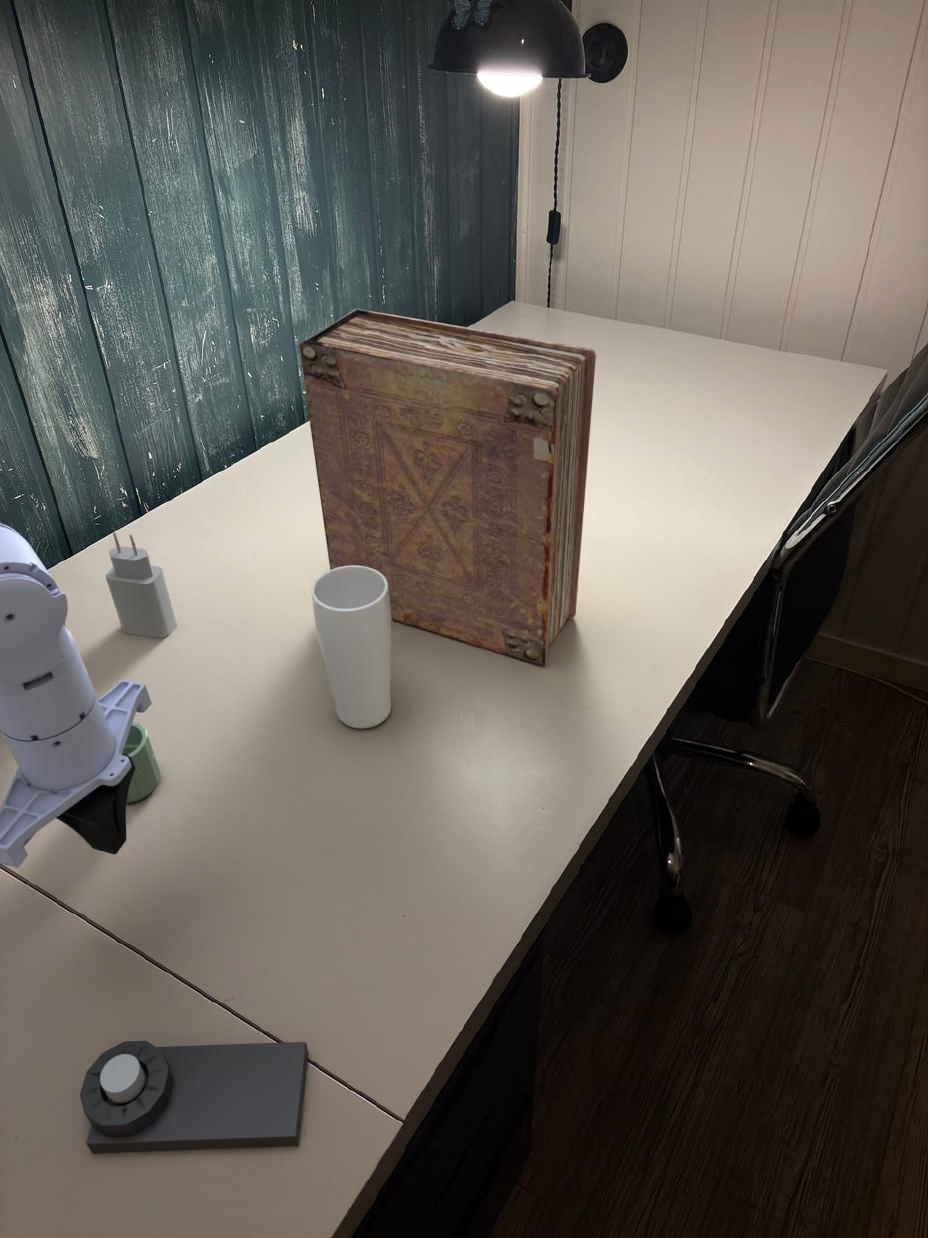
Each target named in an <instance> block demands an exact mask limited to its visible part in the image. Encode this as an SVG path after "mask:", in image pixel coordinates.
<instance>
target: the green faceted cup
mask: <svg viewBox="0 0 928 1238" xmlns="http://www.w3.org/2000/svg"><path fill="white" fill-rule="evenodd" d="M122 754H126V755H129V756H130V757H131V758H132V760H133V762H134V765H135V768H136V769H135V772H134V774H133V777H132V779H131V782H130V786H129V790H128V795H127V803H135V802H138V801H140V800H142V799H145V798H146V797H148V796H149V795H150V794H152V792H153V791H154V790H155V789H156V787H157V785H158V784H159V782H160V778H161V773H160V769H159V765H158V762H157V759H156V756H155V753H154V751H153V747H152V744H151V741H150V737H149V735H148V732H147V729H146V728H145V727H144V726H143V725H141V724H140V723H137V722H134V721H133V723H132V726H131V729H130V732H129V735H128V738H127V741H126V744H125V747H124V750H123V753H122ZM127 803H126V804H127Z"/></svg>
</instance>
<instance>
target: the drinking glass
mask: <svg viewBox="0 0 928 1238" xmlns="http://www.w3.org/2000/svg"><path fill="white" fill-rule="evenodd" d="M310 591H311V603H312V604H311V605H312V610H313V611H312V612H313V619H314V625H315V631H316V635H317V640H318V643H319V647H320V650H321V654H322V658H323V661H324V666H325V669H326V673H327V676H328V681H329V684H330V688H331V692H332V696H333V697H332V698H333V701H334V707H335V713H336V715H337V717H338V719H339V720H340V721H341V723H343V724H344V725H346V726H348V727H350V728H354V729H370V728H373V727H376V726H378V725H380V724H382V723H383V722H384V721H386V720H387V718H388V717H389V715H390V714H391V710H392V691H391V690H392V689H391V686H392V685H391V683H392V682H391V680H392V641H393V620H392V613H391V602H390V595H389V588H388V582H387V580H386V578H385V577H384V576H383V575H382V574H381V573H380V572H379V571H377V570H375V569H372V568H369V567H365V566H357V565H352V566H342V567H338V568H335V569H332V570H330V569H329V570H328V571H325V572H323V573H322V574H321V575H320V576H318V577H317V578H316V579H315V581H314V582H313V584H312V586H311V590H310Z"/></svg>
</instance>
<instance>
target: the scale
mask: <svg viewBox="0 0 928 1238" xmlns="http://www.w3.org/2000/svg"><path fill="white" fill-rule="evenodd" d="M122 1054H129V1055H132V1056H134V1057H135V1058H136V1059H137V1060H138V1062H139V1064H140V1066H141V1068H142V1070H143V1072H144V1074H145V1084H144V1087H143V1089H142V1091H141V1092H140V1093H139V1095H138V1096H137V1097H135V1098H134V1099H133V1100H131V1101H129V1102H126V1103H115V1102H113V1101H111V1100H110V1099H109V1098H108V1096H107V1094H106V1093H105V1091H104V1089H103V1087H102V1086H101V1082H100V1076H101V1072H102V1070H103V1068H104V1066H105V1065H106V1064H107V1063H108V1062H109V1061H110V1060H111V1059H112V1058H114V1057H116V1056H118V1055H122ZM308 1060H309V1047H308V1044H307V1041H289V1042H288V1041H287V1042H261V1043H259V1042H258V1043H233V1044H232V1043H231V1044H205V1045H203V1044H201V1045H175V1046H156V1045H154V1044H153V1043H151V1042H150V1041H148V1040H129V1041H128V1040H126V1041H122V1042H121V1043H118V1044H116V1045H115V1046H112V1047H111V1048H109V1049H107V1050H105V1051H104V1052H101V1054H100V1055H99V1056H98V1057H97V1058H96V1059H95V1061H94V1062H93V1063H92V1064H91V1066H90V1067H89V1068H88V1069H87V1071H86V1072H85V1076H84V1079H83V1082H82V1085H81V1089H80V1092H79V1098H80V1101H81V1105H82V1108H83V1113H84V1116H85V1117H86V1118H87V1120H88V1122H89V1123H90V1125H91V1126H90V1129H89V1133H88V1136H87V1140H86V1143H85V1144H86V1146H87V1147H88V1149H89V1150H90V1152H91V1153H92V1154H103V1153H106V1154H107V1153H134V1152H158V1151H159V1152H161V1151H185V1150H186V1151H188V1150H217V1149H238V1148H239V1149H241V1148H242V1149H243V1148H246V1149H247V1148H267V1147H268V1148H269V1147H270V1148H271V1147H272V1148H273V1147H297V1146H299V1145H300V1138H301V1137H300V1136H301V1128H302V1127H301V1126H302V1119H303V1118H302V1117H303V1109H304V1100H305V1099H304V1098H305V1090H306V1089H305V1088H306V1081H307V1070H308V1062H309V1061H308Z"/></svg>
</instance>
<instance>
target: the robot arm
mask: <svg viewBox="0 0 928 1238" xmlns="http://www.w3.org/2000/svg"><path fill="white" fill-rule="evenodd" d="M55 581H56V580H54V578H53V577H52V575H51V574H50V572H49V570H48V569H47V568H46V566H45V565H44V563H43V562H42V561H41V560H40V558H39V556H38V555H37V554H36V552H35V550H34V548H33V547H32V546H31V545H30V543H29V542H28V541H27V540H26V539H25V538H24V537H23V535H21V534H20V533H19V532H17V531H16V530H15V529H14V528H12V527H10V526H8V525H6V524H4V523H1V522H0V732H1V734H2V735H3V738H4V740H5V742H6V744H7V746H8V748H9V749H10V751H11V752H10V753H12V755H13V757H14V760H15V761H16V763H17V770H16V772H15V774H14V776H13V778H12V781H11V783H10V785H9V787H8V790H7V792H6V794H5V797H4V799H3V801H2V804H1V805H0V864H1V865H4V866H8V867H12V868H15V869H18V868H19V867H20V866H21V865H22V864H23V863H24V861H25V860H26V859H27V858H28V852H27V850H26V848H25V847H26V846H27V844H28V843H29V842H30V841H31V840H32V839H33V838H34V836H35V835H36V834H37V832H39V831H41V829H43V828H44V827H46V826H47V825H49V824H50V823H51V822H52V821H54V820H55V819H56V820H59V821H60V822H61V823H63V824H65V825H66V826H68V827H69V828H70V829H71V830H73V831H74V832H75V833H76V834H78V835H79V836H80V838H82V839H83V840H84V841H85V842H86V843H87V844H88V845H89V847H91V849H92V850H96V851H99V852H104V853H107V854H110V855H117V854H118V853H119V851H120V850H121V849H122V847H123V846H124V845H125V843H126V841H127V795H128V790H129V786H130V782H131V779H132V777H133V774H134V772H135V769H136V768H135V765H134V762H133V760H132V758H131V757H130V756H129V755H126V754H122V753H123V750H124V747H125V744H126V741H127V738H128V735H129V732H130V729H131V726H132V723H133V722H134V719H135V716H136V713H140V714H143V713H145V712H146V711H147V710H148V709H150V707H151V706H152V704H153V703H152V700H151V697H150V694H149V692H148V691H149V690H148V688H147V685H146V683H140V682H136V681H132V680H127V679H120V680H119V681H118V682H117V683H116V685H114V686H113V687H112V688H111V689H109V691H107V692H106V693H104V694H103V695H101V697H98V695H97V693H96V691H95V687H94V686H93V683H92V679H91V678H90V675H89V673H88V670H87V667H86V666H85V663H84V660H83V658H82V655H81V653H80V650H79V648H78V646H77V643H76V639H75V638H74V635H73V634H72V633H71V631H70V630H69V628H67V627H66V620H67V617H68V612H69V611H68V609H69V605H68V604H69V603H68V598H67V595H66V593H65V592H60V589H59V586H58V584H57V583H56V582H55Z"/></svg>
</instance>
